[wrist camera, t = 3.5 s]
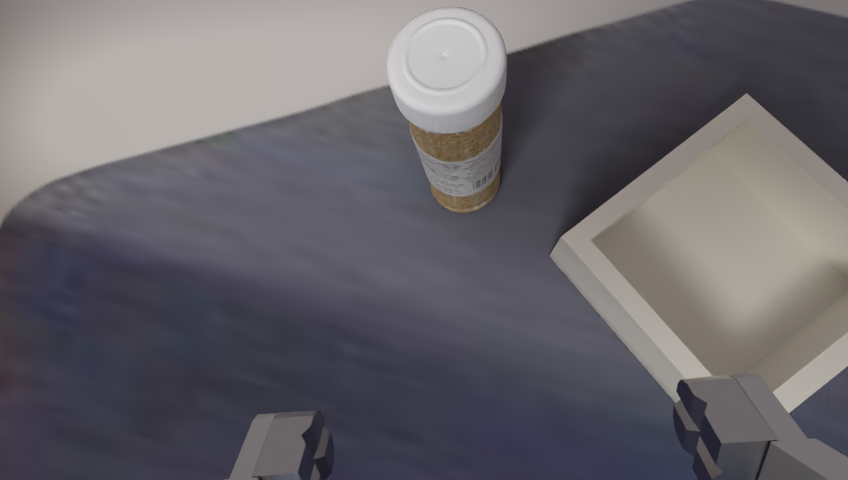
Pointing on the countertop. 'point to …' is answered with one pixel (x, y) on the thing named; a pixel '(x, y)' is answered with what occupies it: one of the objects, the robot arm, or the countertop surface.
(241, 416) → the countertop surface
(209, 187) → the countertop surface
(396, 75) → the sprinkles bottle
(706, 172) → the box
